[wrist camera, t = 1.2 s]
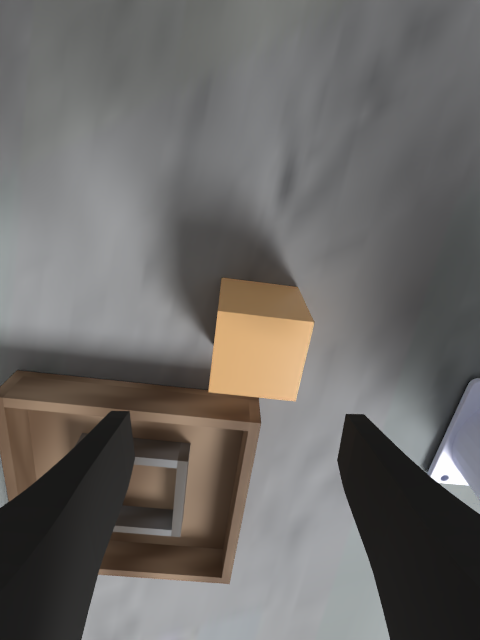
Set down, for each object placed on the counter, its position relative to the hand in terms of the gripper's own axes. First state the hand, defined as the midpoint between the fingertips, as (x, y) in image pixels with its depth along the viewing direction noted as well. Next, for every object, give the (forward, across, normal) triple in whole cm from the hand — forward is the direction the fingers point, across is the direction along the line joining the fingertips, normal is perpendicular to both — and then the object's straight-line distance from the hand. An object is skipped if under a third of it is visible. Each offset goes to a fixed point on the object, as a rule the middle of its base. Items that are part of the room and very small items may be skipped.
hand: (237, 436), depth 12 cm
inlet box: (+8, +6, +11) cm, 15 cm away
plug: (+9, -1, -1) cm, 9 cm away
